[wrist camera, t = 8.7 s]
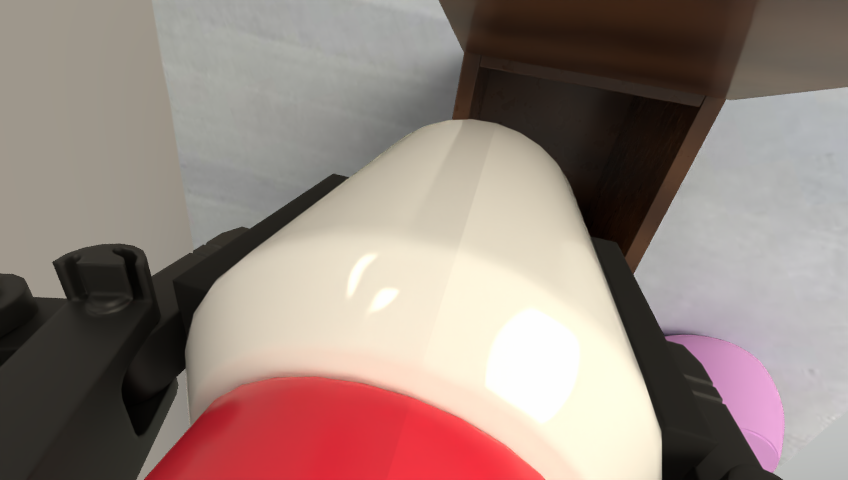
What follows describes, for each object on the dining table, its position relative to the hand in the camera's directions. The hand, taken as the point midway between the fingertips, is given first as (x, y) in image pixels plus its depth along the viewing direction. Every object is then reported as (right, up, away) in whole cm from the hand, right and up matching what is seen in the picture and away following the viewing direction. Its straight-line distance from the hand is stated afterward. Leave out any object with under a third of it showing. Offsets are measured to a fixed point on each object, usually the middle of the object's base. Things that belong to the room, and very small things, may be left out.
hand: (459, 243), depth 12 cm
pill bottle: (0, +1, +1) cm, 1 cm away
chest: (+10, +9, +22) cm, 26 cm away
